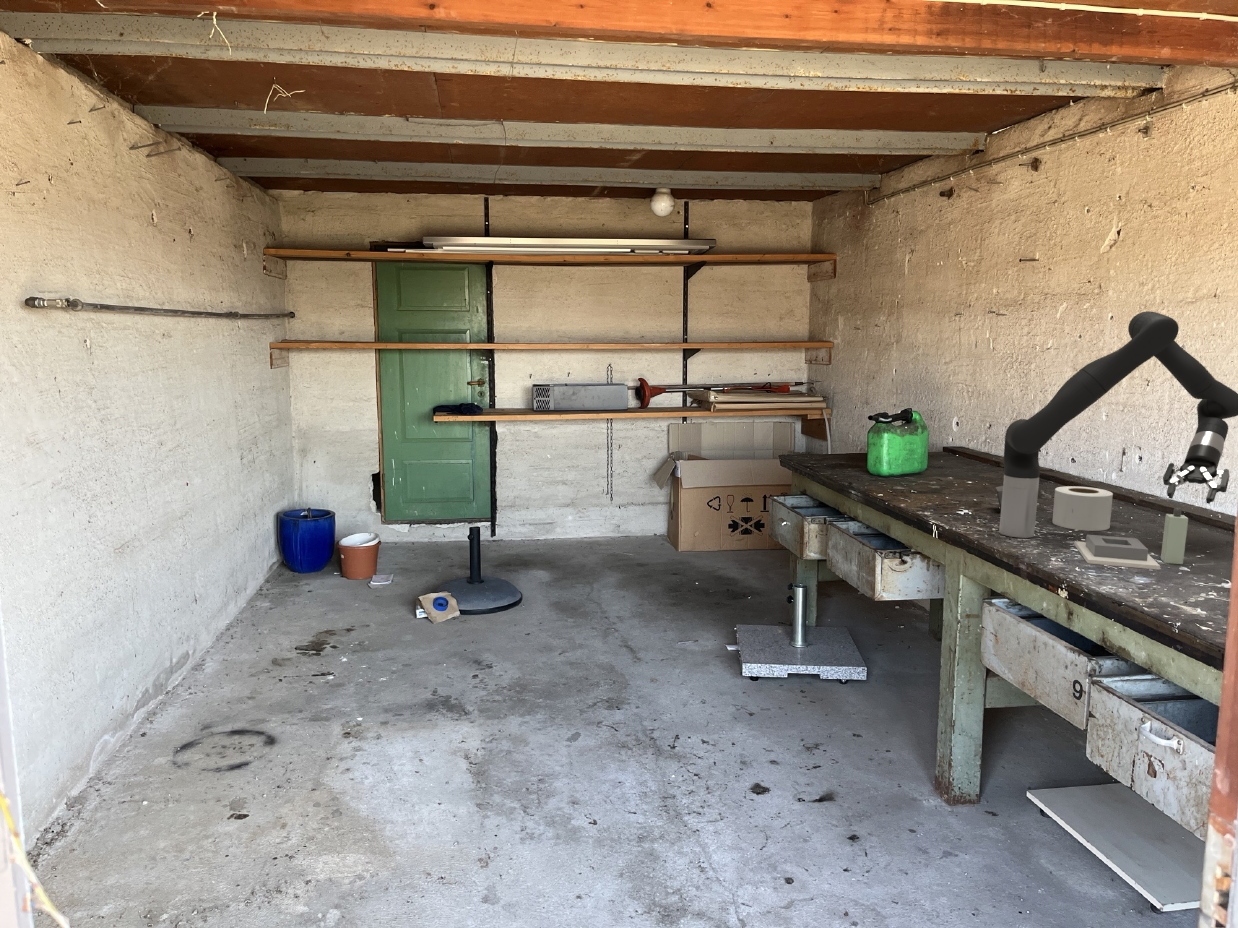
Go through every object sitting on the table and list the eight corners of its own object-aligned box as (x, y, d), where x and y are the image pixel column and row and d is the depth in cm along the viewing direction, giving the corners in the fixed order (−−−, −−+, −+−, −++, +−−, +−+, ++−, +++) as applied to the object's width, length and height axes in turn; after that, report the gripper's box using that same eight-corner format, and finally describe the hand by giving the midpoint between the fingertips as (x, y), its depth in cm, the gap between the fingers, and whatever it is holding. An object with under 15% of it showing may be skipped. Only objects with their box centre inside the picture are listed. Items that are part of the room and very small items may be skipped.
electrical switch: (1016, 515, 274) (1015, 487, 273) (998, 516, 276) (998, 487, 274) (1012, 510, 283) (1012, 482, 282) (995, 510, 284) (995, 482, 283)
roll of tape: (1076, 532, 253) (1080, 496, 252) (1040, 520, 268) (1044, 486, 266) (1121, 530, 256) (1125, 494, 255) (1084, 518, 271) (1087, 484, 270)
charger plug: (1160, 558, 225) (1166, 506, 222) (1178, 560, 223) (1184, 507, 221) (1164, 562, 221) (1171, 509, 219) (1182, 564, 220) (1189, 510, 217)
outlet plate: (1074, 544, 238) (1075, 530, 237) (1140, 550, 233) (1141, 535, 232) (1087, 563, 219) (1089, 548, 219) (1159, 569, 214) (1161, 554, 214)
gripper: (1173, 440, 236) (1156, 486, 230) (1235, 446, 226) (1219, 494, 220) (1175, 457, 240) (1159, 503, 234) (1237, 464, 230) (1222, 512, 224)
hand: (1188, 499), depth 227 cm, fingers open, 8 cm apart
